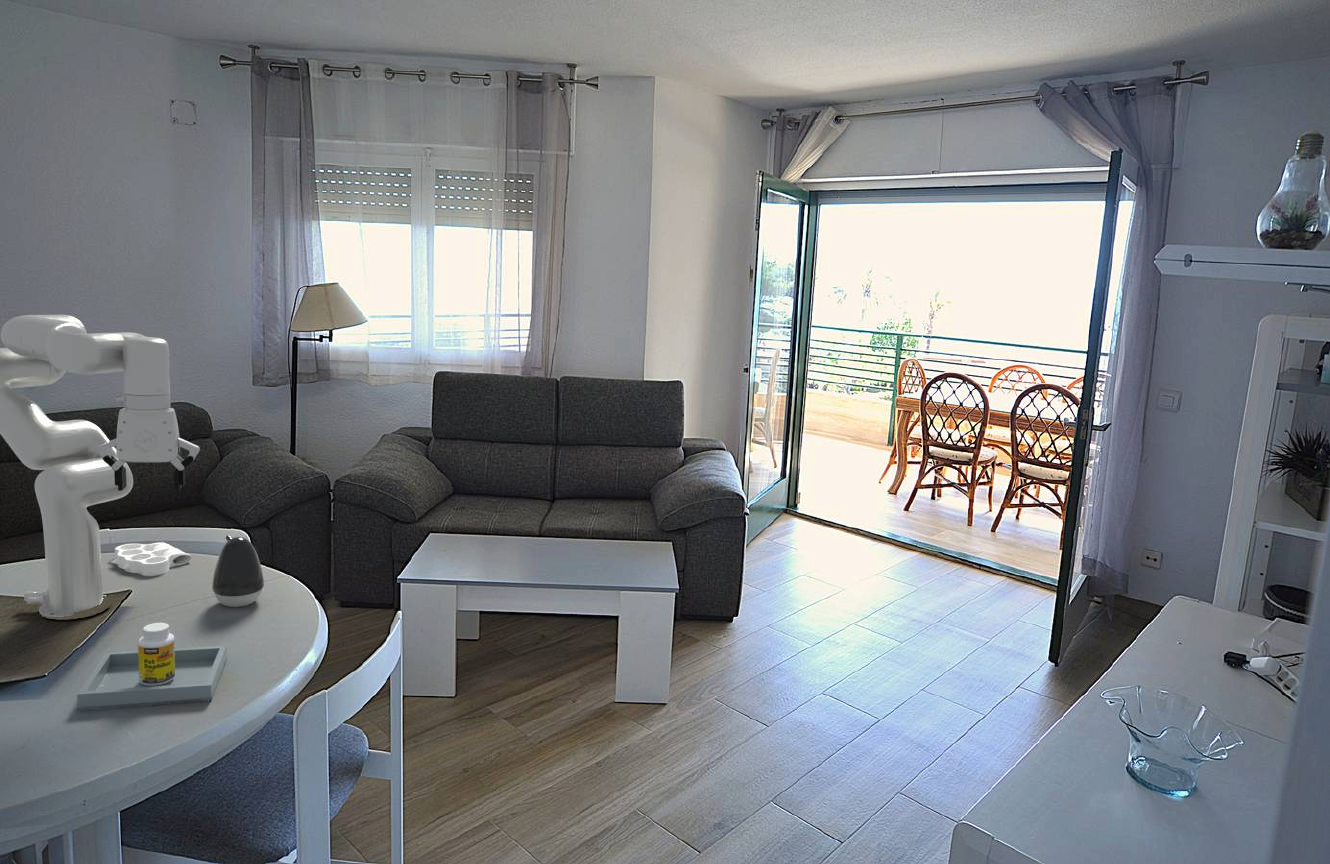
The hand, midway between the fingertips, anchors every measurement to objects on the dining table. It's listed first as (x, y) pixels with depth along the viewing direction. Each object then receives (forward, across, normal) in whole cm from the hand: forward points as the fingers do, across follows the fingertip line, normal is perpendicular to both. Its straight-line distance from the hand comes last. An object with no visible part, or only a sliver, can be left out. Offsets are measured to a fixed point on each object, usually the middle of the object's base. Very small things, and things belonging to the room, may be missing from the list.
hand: (150, 488), depth 168 cm
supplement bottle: (+30, +5, -22) cm, 37 cm away
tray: (+30, +5, -22) cm, 38 cm away
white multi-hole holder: (+31, -11, +43) cm, 54 cm away
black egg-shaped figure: (+31, +13, +15) cm, 36 cm away
